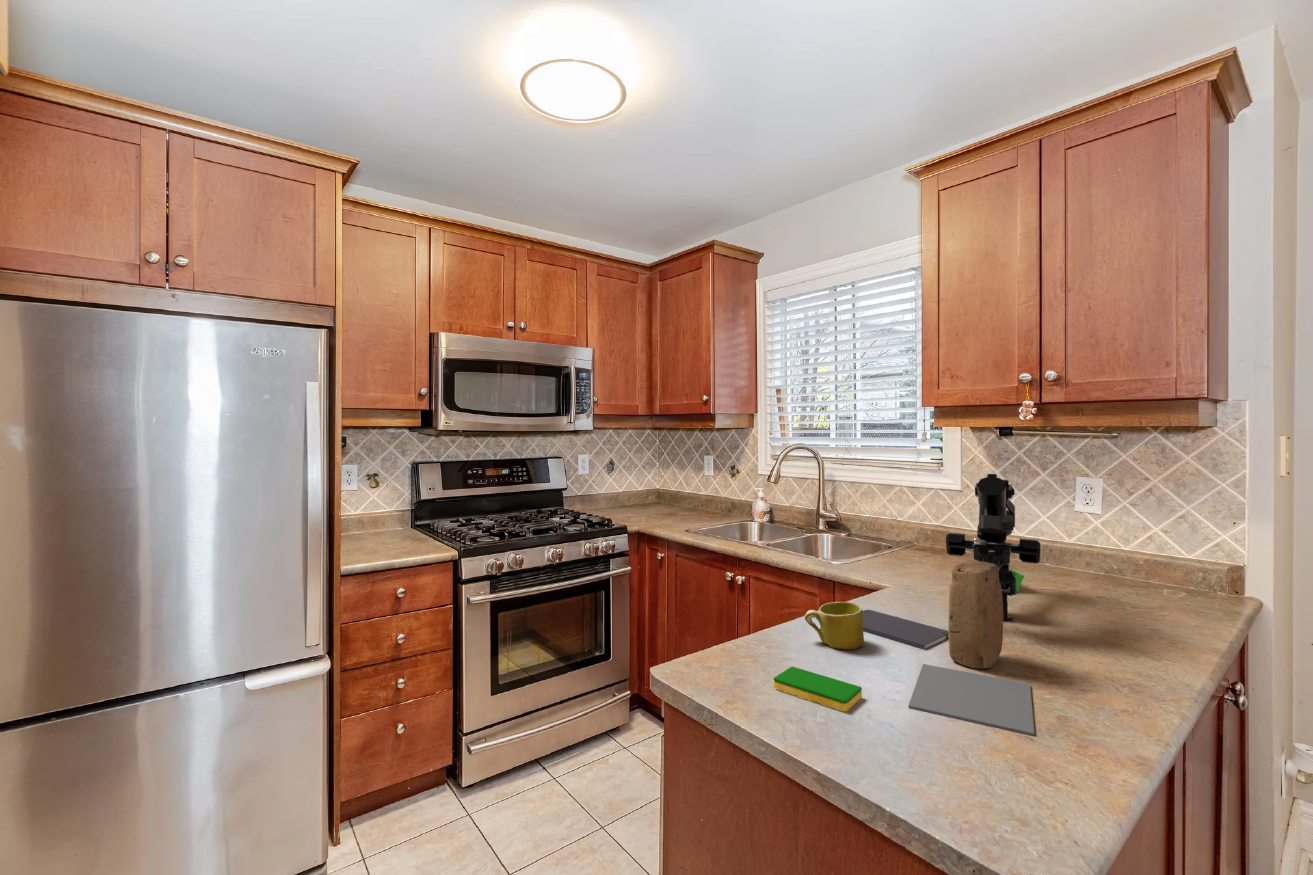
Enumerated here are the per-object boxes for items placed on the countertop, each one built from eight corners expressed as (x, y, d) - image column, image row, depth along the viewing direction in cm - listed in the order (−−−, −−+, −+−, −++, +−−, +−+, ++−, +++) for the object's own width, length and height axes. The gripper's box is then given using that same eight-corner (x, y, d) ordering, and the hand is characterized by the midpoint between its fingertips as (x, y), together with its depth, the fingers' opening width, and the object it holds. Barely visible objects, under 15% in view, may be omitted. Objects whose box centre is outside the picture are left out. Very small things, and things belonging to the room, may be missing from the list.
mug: (869, 628, 134) (860, 590, 131) (870, 658, 125) (860, 618, 122) (815, 631, 139) (805, 595, 136) (811, 661, 129) (800, 622, 127)
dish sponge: (845, 715, 99) (845, 700, 99) (772, 690, 108) (772, 677, 108) (862, 700, 104) (862, 686, 104) (791, 678, 114) (791, 665, 114)
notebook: (838, 625, 143) (924, 652, 126) (838, 619, 143) (924, 644, 126) (867, 615, 151) (952, 638, 134) (867, 608, 151) (952, 631, 134)
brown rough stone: (982, 674, 114) (983, 570, 113) (944, 661, 120) (944, 563, 120) (1008, 660, 120) (1009, 562, 120) (970, 649, 126) (971, 556, 126)
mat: (923, 665, 118) (923, 663, 118) (1029, 685, 109) (1030, 683, 109) (908, 707, 101) (908, 705, 101) (1034, 735, 92) (1034, 733, 92)
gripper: (946, 498, 140) (941, 554, 131) (1040, 503, 131) (1042, 564, 122) (949, 526, 147) (944, 581, 138) (1038, 533, 138) (1040, 592, 129)
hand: (990, 579), depth 131 cm, fingers closed
